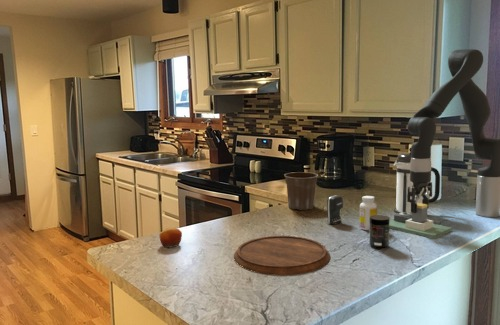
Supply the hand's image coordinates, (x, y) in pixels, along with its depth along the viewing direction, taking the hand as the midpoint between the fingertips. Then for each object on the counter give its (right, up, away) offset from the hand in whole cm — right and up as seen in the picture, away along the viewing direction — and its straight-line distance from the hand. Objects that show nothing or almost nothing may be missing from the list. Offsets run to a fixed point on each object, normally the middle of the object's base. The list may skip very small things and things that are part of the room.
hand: (419, 210), depth 165 cm
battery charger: (-30, -7, +14) cm, 34 cm away
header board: (0, -7, +3) cm, 8 cm away
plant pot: (-41, -3, +42) cm, 58 cm away
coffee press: (+7, -5, +24) cm, 25 cm away
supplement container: (-21, -11, -16) cm, 28 cm away
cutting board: (-55, -13, -23) cm, 61 cm away
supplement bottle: (-19, -8, +5) cm, 21 cm away
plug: (0, -7, +1) cm, 7 cm away
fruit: (-95, -12, -10) cm, 96 cm away
